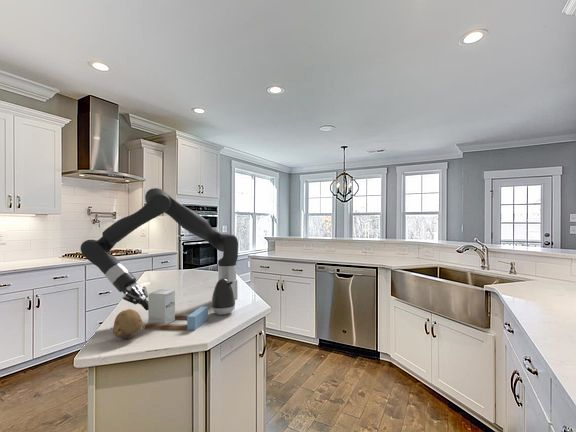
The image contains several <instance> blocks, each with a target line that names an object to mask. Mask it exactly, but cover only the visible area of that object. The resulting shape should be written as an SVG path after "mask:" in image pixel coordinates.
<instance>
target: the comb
mask: <svg viewBox="0 0 576 432" xmlns="http://www.w3.org/2000/svg"><path fill="white" fill-rule="evenodd" d="M189 315H190V314H181V313H178V314H177V313H175V320H187V316H189ZM143 326H144V327H143V329H147V330H177V331H181V330H182V331H188V330H187V324H185V323H183V324H180V323H169V324H153V323H147V322H146V323H145V324H143Z"/></svg>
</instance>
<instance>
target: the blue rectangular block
mask: <svg viewBox="0 0 576 432" xmlns="http://www.w3.org/2000/svg"><path fill="white" fill-rule="evenodd" d="M188 315H189V316H187V319H186V320H187V322H186V323H187V330H186V331H196V330H198V328H199V327H200V326H201V324H202V325H203V324H204V323H205V322H206V321H207V320H208V319H209V307H208V306H200V307H198V308H197V309H195V310H194V311H193V312H191V313H190V314H188Z"/></svg>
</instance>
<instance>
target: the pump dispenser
mask: <svg viewBox="0 0 576 432" xmlns="http://www.w3.org/2000/svg"><path fill="white" fill-rule="evenodd" d="M231 284H233V282H232V281H231V282H229V281H228V280H227V279H224V278H223V279H220V280H219V281H218V280H217V282H216V284H215V286H214V289H213V292H212V297H211V303H210V304H211V307H212V310H213V313H215V314H216V315H219V316H226V315H229V314H230V313H232V312H233V311H234V309H235V306H236V299H235V297H234V292H233V289H232V286H231Z"/></svg>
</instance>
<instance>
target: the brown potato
mask: <svg viewBox="0 0 576 432" xmlns="http://www.w3.org/2000/svg"><path fill="white" fill-rule="evenodd" d="M143 326H144V321H143V319H142V316H141V315H140V314H139V312H138V311H136V310H135V309H131V308H128V309H125V310H121V311H120V312H119V313H118V314H117V315H116V316H115V319H114V323H113V328H112V333H113V336H115V337H117V338H120V339H124V340H127V339H128V340H129V339H130V338H132V337H133V336H134V335H135V334H137V333H139V332H140V331H141V330H142V329H143V328H144V327H143Z"/></svg>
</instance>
